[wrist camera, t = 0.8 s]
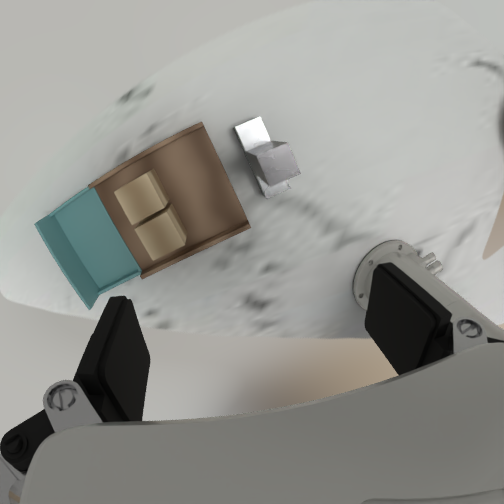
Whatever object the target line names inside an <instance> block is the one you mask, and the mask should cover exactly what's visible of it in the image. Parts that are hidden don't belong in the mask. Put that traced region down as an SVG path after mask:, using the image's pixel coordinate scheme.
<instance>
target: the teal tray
mask: <svg viewBox="0 0 504 504" xmlns="http://www.w3.org/2000/svg"><path fill="white" fill-rule="evenodd" d="M34 225H35V226H36V228H37V230H38V232H39V234H40V235H41V237H42V239H43V241H44V242H45V244H46V246H47V248H48V249H49V251H50V253H51V254H52V256H53V258H54V259H55V261H56V262H57V264H58V266H59V267H60V269H61V270H62V272H63V273H64V275H65V276H66V278H67V279H68V281H69V282H70V284H71V285H72V287H73V288H74V290H75V291H76V293H77V294H78V295H79V297H80V298H81V300H82V301H83V302H84V304H85V305H86V306H87V308H88V309H89V310H90V309H91V308H92V307H93V305H94V303H95V301H96V300H97V298H98V296H99V295H100V294H102V293H104V292H106V291H108V290H110V289H112V288H114V287H116V286H118V285H120V284H122V283H124V282H126V281H128V280H130V279H132V278H134V277H136V276H138V275H140V274H141V272H142V269H141V268H140V266H139V264H138V263H137V261H136V260H135V258H134V256H133V255H132V253H131V251H130V250H129V248H128V246H127V245H126V243H125V241H124V240H123V238H122V236H121V235H120V233H119V231H118V229H117V228H116V226H115V224H114V222H113V221H112V219H111V217H110V215H109V213H108V212H107V210H106V208H105V206H104V204H103V202H102V201H101V199H100V197H99V195H98V193H97V191H96V189H95V187H93V188H91V189H89V187H87V188H85V189H84V190H82V191H81V192H79V193H78V194H76V195H75V196H74V197H72V198H71V199H69V200H68V201H67V202H65V203H64V204H62V205H61V206H60V207H58V208H57V209H56V210H54V211H53V212H52V213H50V214H49V215H47V216H46V217H44V218H43V219H41V220H39V221H38V222H36V223H35V224H34Z"/></svg>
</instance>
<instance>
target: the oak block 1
mask: <svg viewBox="0 0 504 504" xmlns="http://www.w3.org/2000/svg"><path fill="white" fill-rule="evenodd" d="M114 193H115V195H116V197H117V199H118V201H119V203H120V204H121V206H122V208H123V210H124V212H125V214H126V215H127V217H128V219H129V221H130V223H131V224H132V225H133V224H135V223H137V222H139V221H141V220H143V219H144V218H146V217H148V216H150V215H152V214H154V213H156V212H157V211H159V210H161V209H163V208H165V206H166V205H167V203H168V201H169V200H170V199H169V197H168V195H167V193H166V191H165V189H164V187H163V185H162V184H161V182H160V180H159V178H158V176H157V174H156V172H155V170H154V169H152V170H150V171H149V172H147V173H145V174H143V175H141V176H140V177H138V178H136V179H134V180H133V181H131V182H129V183H127V184H126V185H124V186H122V187H121V188H119V189H118V190H116V191H115V192H114Z"/></svg>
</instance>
